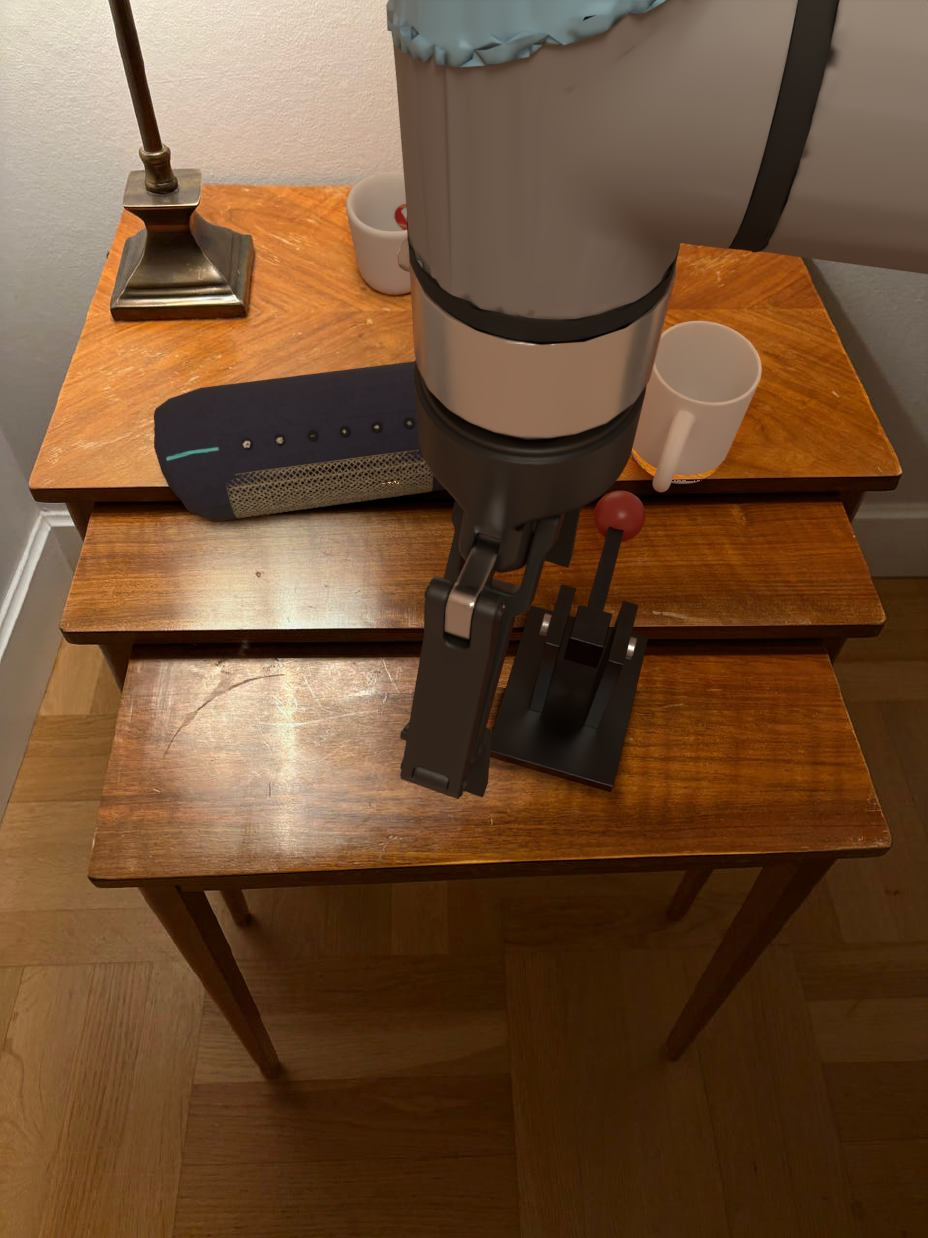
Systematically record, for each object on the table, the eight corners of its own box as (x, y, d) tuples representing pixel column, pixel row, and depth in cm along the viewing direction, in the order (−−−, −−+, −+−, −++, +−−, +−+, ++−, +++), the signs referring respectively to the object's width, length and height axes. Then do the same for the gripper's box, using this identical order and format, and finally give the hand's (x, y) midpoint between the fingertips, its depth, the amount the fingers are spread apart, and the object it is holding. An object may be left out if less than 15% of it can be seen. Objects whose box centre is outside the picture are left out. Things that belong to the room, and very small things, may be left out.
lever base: (529, 612, 74) (545, 526, 64) (645, 644, 73) (681, 562, 63) (485, 756, 69) (495, 688, 58) (610, 792, 68) (643, 730, 57)
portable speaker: (177, 552, 76) (144, 476, 67) (170, 450, 80) (138, 365, 71) (495, 508, 78) (503, 428, 70) (471, 411, 83) (476, 325, 74)
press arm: (594, 509, 71) (604, 474, 68) (643, 522, 71) (654, 487, 68) (551, 662, 63) (560, 628, 60) (605, 677, 62) (617, 644, 60)
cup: (480, 280, 90) (485, 208, 83) (431, 333, 87) (431, 262, 80) (386, 231, 93) (382, 157, 86) (334, 281, 89) (326, 208, 82)
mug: (696, 537, 78) (731, 457, 69) (598, 501, 79) (620, 419, 70) (736, 427, 83) (774, 340, 74) (644, 396, 84) (670, 306, 75)
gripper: (540, 106, 37) (514, 457, 56) (249, 649, 26) (337, 865, 44) (733, 149, 36) (641, 494, 55) (518, 740, 25) (493, 924, 43)
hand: (505, 661), depth 50 cm, fingers open, 13 cm apart
